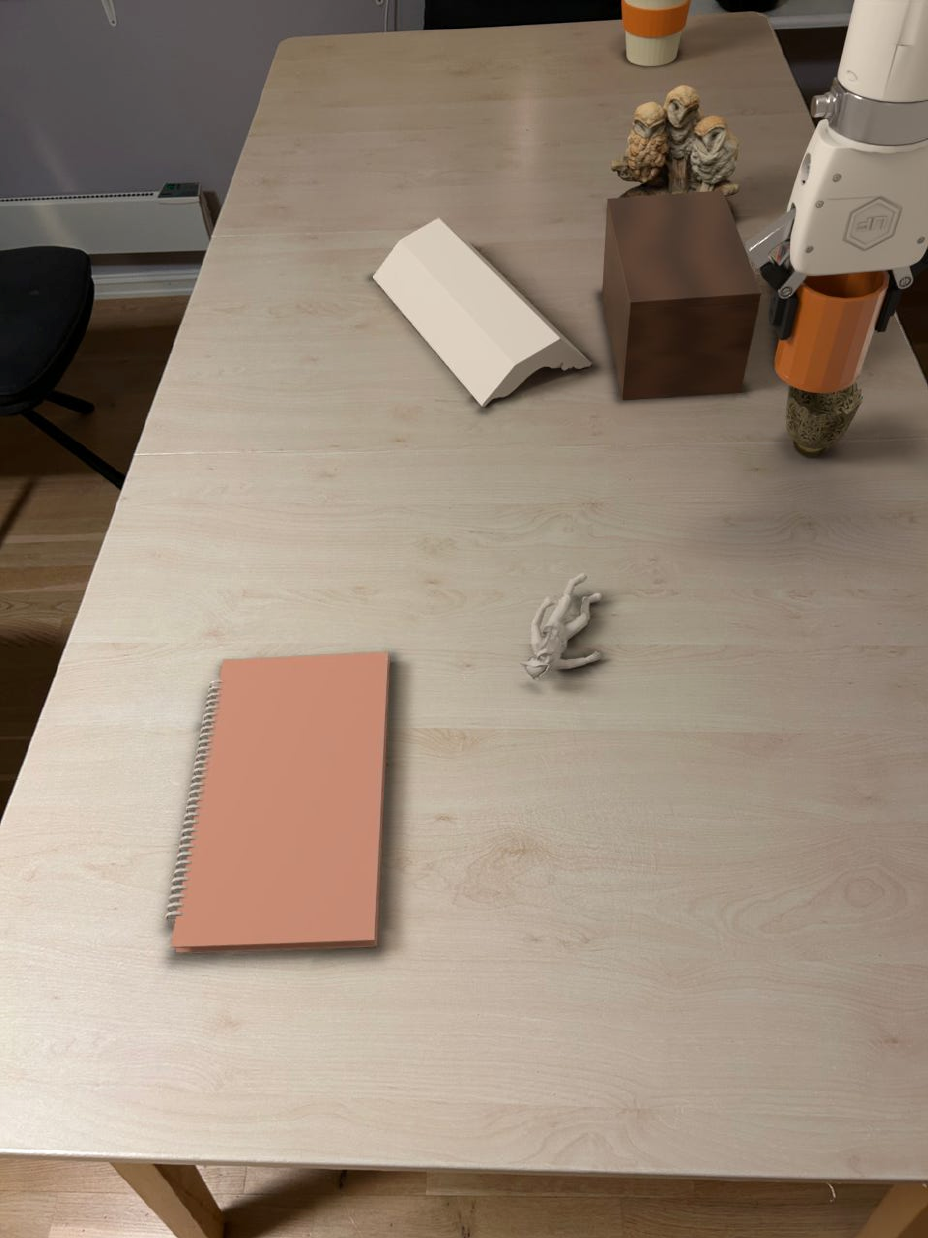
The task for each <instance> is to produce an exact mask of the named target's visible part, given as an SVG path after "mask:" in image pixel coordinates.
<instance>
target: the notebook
mask: <svg viewBox="0 0 928 1238" xmlns="http://www.w3.org/2000/svg"><path fill="white" fill-rule="evenodd" d="M390 673H391V659H390V658H389V651H388V650H385V651H383V650H382V651H365V652H345V653H344V652H343V653H325V654H324V653H323V654H302V655H285V656H265V657H264V656H263V657H261V656H260V657H244V658H242V657H241V658H226V659H225V658H224V659H222V663H221V669H220V673H219V679H213V680H211V681H210V682H209V687H208V691H207V694H208V695H207V697H206V701H205V708H204V711H203V712H204V714H203V717H202V720H203V721H202V722H201V728H200V735H199V738H198V739H199V740H198V743H197V748H196V755H195V758H194V759H195V762H194V764H193V769H192V777H191V784H190V785H189V790H190V791H188V799H187V801H186V805H187V806H186V807H185V814H184V816H183V820H184V822H182V828H183V829H182V830H181V833H180V835H181V837H180V838H179V844H180V845H179V846H178V849H177V851H178V852H179V853H177V855H176V860H177V861H175V864H174V867H175V868H176V869H175V870H174V871H173V876H174V878H172V879H171V884H172V885H173V886H171V887H170V891H169V893H170V894H171V895H170V896H169V898H168V901H169V904H167V906H166V910H167V911H168V912H167V913H166V914H165V917H164V918H165V919H166V920H167V921H168V922H171V923H174V926H173V932H172V937H171V944H170V949H174V948H175V953H176V954H195V953H196V954H197V953H198V954H200V953H225V952H254V951H257V952H258V951H282V950H308V949H309V950H310V949H340V948H341V949H342V948H343V949H344V948H366V947H367V948H368V947H371V948H372V947H378V935H379V934H378V933H379V931H378V930H379V909H380V890H381V889H380V887H381V868H382V866H381V865H382V864H381V863H382V848H383V847H382V844H383V822H384V804H385V803H384V801H385V779H386V761H387V760H386V756H387V737H388V715H389V714H388V713H389V695H390V692H389V691H390ZM214 683H218V685H214V686H212V685H213V684H214ZM211 691H212V692H211ZM210 698H212V699H210ZM208 704H210V705H208ZM207 711H210V712H207ZM206 717H208V718H207V719H206ZM205 724H207V725H205ZM204 730H205V731H207V732H203V731H204ZM202 737H203V738H204V739H202ZM201 744H203V746H201ZM204 745H205V746H204ZM200 751H202V752H203V753H202V752H201V753H200ZM204 752H205V753H204ZM198 758H201V759H202V760H201V759H200V760H199V759H198ZM197 765H200V766H201V767H197ZM196 772H198V773H201V774H196ZM195 779H197V780H199V781H196V782H195V781H194V780H195ZM194 786H195V787H197V788H199V789H194V788H193V787H194ZM192 794H195V795H197V796H192ZM191 801H192V802H196V804H191V803H190V802H191ZM189 809H192V810H195V811H194V812H193V811H192V812H191V811H189ZM187 817H193V819H189V818H187ZM187 824H190V825H192V827H187V826H186V825H187ZM186 832H188V833H189V832H190V835H186V834H185V833H186ZM185 840H188V841H189V843H185V842H183V841H185ZM182 848H183V849H184V848H188V850H187V851H184V850H182ZM180 856H186V859H182V858H181V857H180ZM180 864H185V866H184V867H180V866H179V865H180ZM181 872H182V873H183V876H181V875H178V874H177V873H181ZM177 881H182V882H181V884H179V883H176V882H177ZM177 889H180V892H175V891H174V890H177ZM174 898H178V901H175V900H173V899H174ZM170 907H177V910H176V909H173V908H170ZM171 915H172V916H173V915H175V918H172V917H169V916H171Z"/></svg>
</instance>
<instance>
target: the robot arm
mask: <svg viewBox="0 0 928 1238" xmlns="http://www.w3.org/2000/svg"><path fill="white" fill-rule="evenodd" d="M810 115H811V118H820V117H821V118H822V119H821V120H819V121H818V123H817V126H816V128H815V130H814V132H813V134H812V137H811V139H810V141H809V143H808V145H807V147H806V151H805V153H804V156H803V158H802V161H801V163H800V166H799V169H798V172H797V175H796V178H795V181H794V184H793V187H792V191H791V194H790V197H789V201H788V203H789V205H788V204H787V205H788V208H787V207H786V210H787V212H786V211H785V213H784V214H782V215H781V216H779V217H778V218H777V219H776V220H774V221H772V222H771V223H770V224H769V225H767V226H766V227H764V228H763V229H762V230H760V231H759V232H758V233H756V234H755V235H754V236H752V237H751V238H749V239H748V240H746V242H745V243H744V244H743V245H744V249H745V251H746V254H747V256H748V258H749V261H750V263H752V265H753V267H754V268H755V269H756V270H757V271H758V273H759V274H760V275H761V278H762V279H763V280H764V281H765V282H766V283H767V284H768V285H769V286H770V287H771V288H772V295H771V299H770V304H769V308H768V313H767V320H768V324H769V326H770V327H774V329H775V331H776V334H777V337H778V340H779V339H780V340H787V339H788V338H790V334H791V330H792V326H793V322H794V317H795V313H796V309H797V305H798V297H797V295H796V293H795V291H796V290H797V288H798V287H799V286H800V285H801V284H802V282H803V281H804V280H805V279H806V277H807V276H823V275H837V274H849V273H861V272H873V271H884V270H887V272H888V274H889V275H890V278H889V284H888V288H887V291H886V294H885V298H884V301H883V304H882V307H881V310H880V313H879V316H878V320H877V323H876V326H875V329H874V332H877V333H885V332H886V331H887V328H888V325H889V323H890V319H891V317H894V316H895V314H896V311H897V308H898V305H899V302H900V299H901V297H902V293H903V290H905V289H907V288H909V287H910V286H911V285H912V284H913V282H914V277H916V276H918V275H919V274H920V273H922V272H923V271H924V270H926V269H927V268H928V0H854V1H853V5H852V9H851V14H850V19H849V22H848V27H847V32H846V35H845V40H844V45H843V49H842V53H841V58H840V62H839V66H838V71H837V76H835V77H833V80H832V83H831V87H830V89H829V91H827V92H824V93H823V94H821V95H820V94H819V95H814V96H813V97H812V99H811V102H810ZM781 243H783V245H784V246H786V247H788V248H790V249H789V250H788V251H787V253H786V254H785V255H784V256H783V258H782V259H781V260H780V261H779V263H777V260H775V259H774V257H772V256H771V255H770V253H771V252H772V251H773V250H774V249H775V248H776V247H778V246H780V244H781Z"/></svg>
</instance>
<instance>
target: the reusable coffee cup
mask: <svg viewBox="0 0 928 1238" xmlns="http://www.w3.org/2000/svg"><path fill="white" fill-rule="evenodd" d="M691 2H692V0H621V19H622V28H623V30H624V31H625V50H626V59H627V60H628V61H629V62H630V63H632V64H634V65H638V66H643V67H659V66H665V65H667V64H669V63H672V62H673V61H674V60H676V58H677V55H678V50H679V47H680V42H681V37H682V33H683V30H684V29H685V27H686V25H687V22H688V21H687V20H688V16H689V11H690V7H691Z"/></svg>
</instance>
